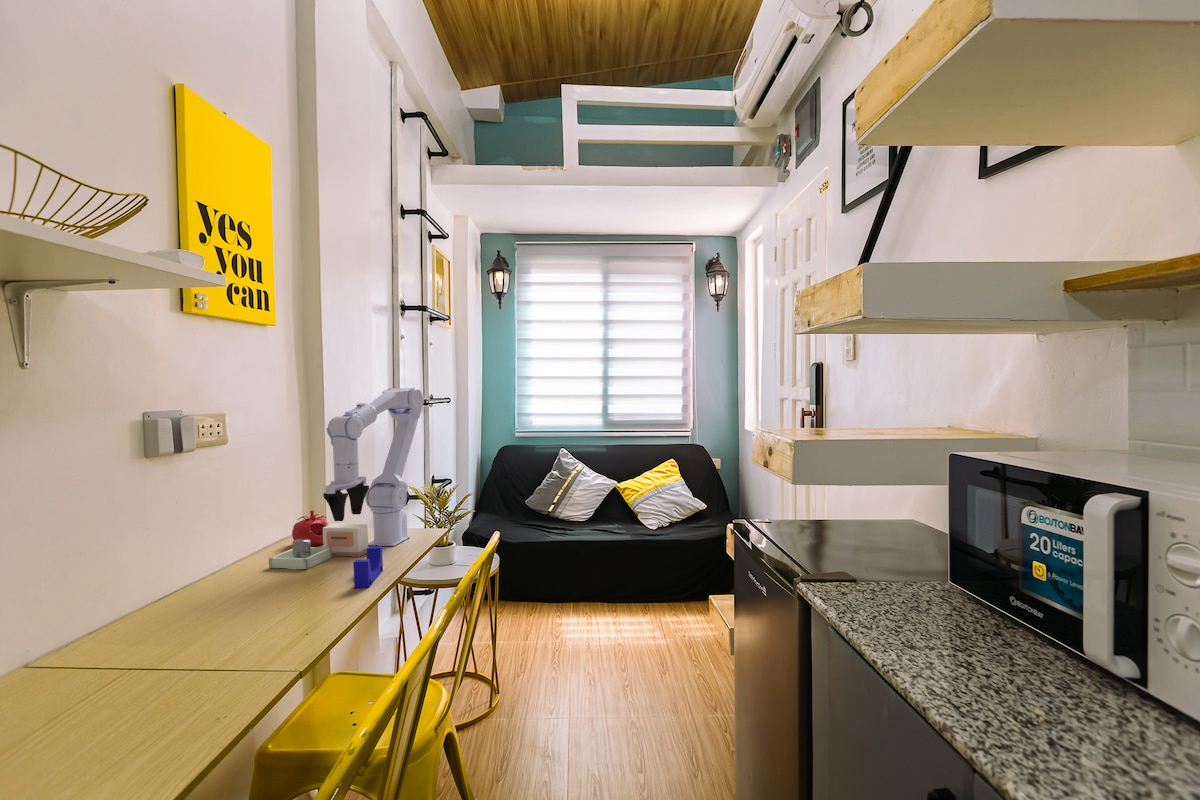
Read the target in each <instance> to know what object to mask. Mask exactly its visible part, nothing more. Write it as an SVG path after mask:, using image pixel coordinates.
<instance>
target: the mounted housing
mask: <svg viewBox="0 0 1200 800" xmlns="http://www.w3.org/2000/svg"><path fill="white" fill-rule="evenodd" d="M368 533H369V531H368V523H366V524H364V523H363V524H362V523H332V524H328V526H326V527H323V544H322V548H332V557H336V556H354V557H353V558H361V557H363V556H365V555H367V554H366V553H367V548H368V547H369V545H368V543H369V540H368V539H369V534H368ZM364 554H365V555H364ZM362 555H363V556H362ZM360 556H361V557H360Z"/></svg>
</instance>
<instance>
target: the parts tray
mask: <svg viewBox="0 0 1200 800" xmlns="http://www.w3.org/2000/svg"><path fill="white" fill-rule="evenodd" d="M329 558H330V559H332V558H333V556H332V548H323V547H318V546H317V547H315V546H311V556H310V557H307V558H293V548H291V549H289V550H285V551H283V552H281V553H279V554H276V555H273V556H271V557H269V558H268V567H269V568H288V569H287V570H296V569H307V570H309V569H311V568H313V566H314V567H315V565H316V566H317V564H318V565H320V564H322V563H324V562H326V561H328V560H330V559H329ZM325 560H326V561H325ZM323 561H324V562H323ZM321 562H322V563H321ZM319 563H320V564H319ZM269 568H268V569H269ZM308 568H309V569H308Z"/></svg>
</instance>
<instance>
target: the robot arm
mask: <svg viewBox="0 0 1200 800" xmlns="http://www.w3.org/2000/svg"><path fill="white" fill-rule="evenodd" d="M424 403H425V400H424V397H423V393H422V391H421V390H420V388H418V387H417V386H416V387H404V388H403V387H401V388H399V387H397V388H396V387H395V388H394V387H388V388H386V390H383V391H382V394H381V395H379V396H378V397H377V398H375V399H374V400H373V401H372V402H370V403H366V402H365V403H364V402H359V403H357V404H356V407H354V408H353V409H351V410H347V411H345V412H344V414H342V416H340V415H339V416H334V417H332V419H331V420H329V422H328V424H327V428H326V433H327V435H328V437H329V439H330V444H331V446H332V451H333V455H332V456H333V457H332V458H333V480H331V481H330V484H328V485H325V492H324V493H323V496H322V497H323V498H324V499H325V501H326V502H327V505H328V507H329V509H330V512H331V514H332V517H333V521H334V522H343V521H344V520H345V509H346V501H347V499H349V503H350V510H351V511H350V512H351V514H352V515H362V514H361V513H362V509H363V505H364V501H365V503H366V506H367V507H368V509H370V512H372V515H373V516H372V522H373V523H372V524H373V540H372V541H370V542H368V546H376V545H377V546H382V547H383V546H384V547H386V546H387V547H395V546H397V545H398V544H401V543H402V542H404V541H406V540H407V539H409V538H411V535H409V534H408V520H407V519H408V517H407V513H406V511H405V510H404V507H405V505H406V503H407V498H408V494H407V493H408V489H409V485H408V483H407V482H406V481H405V480H404V479H403V475H404V471H405V467H406V464H407V460H408V457H409V453H410V450H411V446H412V443H413V440H414V435H415V432H416V430H417V426H418V422H419V419H420V417H421V414H422V410H423V407H424ZM385 411H388V413H389V415H390V416H391V418H392V419H393V420H395V421H396V423H397V424H396V427H395V431H394V434H393V437H392V440H391V443H390V447H389V450H388V453H387V456H386V459H385V463H384V466H383V469H382V473H381V474H380V475H378V476H377V477H375V478H374V479H373V480H372V482H371V485H368V484H367V477H366V476H360V475H359V473H360V472H359V448H358V447H359V446H358V438H360V437H361V435H362V434H363V431H364V430H365V429H366V428H367V427H369V426H370V425H372V424H373V423H375V422H376V421H377V418H378V415H379V414H381V413H384V412H385ZM345 490H346V492H347V493H343V492H342V491H345ZM377 546H376V547H377Z"/></svg>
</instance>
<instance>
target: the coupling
mask: <svg viewBox="0 0 1200 800" xmlns="http://www.w3.org/2000/svg"><path fill="white" fill-rule="evenodd" d="M311 547H312V546H311V540H310V539H297V540H292V549H293V558H307V557H310V556H311Z"/></svg>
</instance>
